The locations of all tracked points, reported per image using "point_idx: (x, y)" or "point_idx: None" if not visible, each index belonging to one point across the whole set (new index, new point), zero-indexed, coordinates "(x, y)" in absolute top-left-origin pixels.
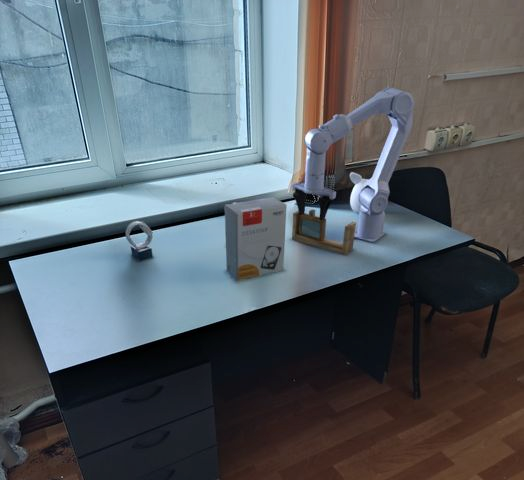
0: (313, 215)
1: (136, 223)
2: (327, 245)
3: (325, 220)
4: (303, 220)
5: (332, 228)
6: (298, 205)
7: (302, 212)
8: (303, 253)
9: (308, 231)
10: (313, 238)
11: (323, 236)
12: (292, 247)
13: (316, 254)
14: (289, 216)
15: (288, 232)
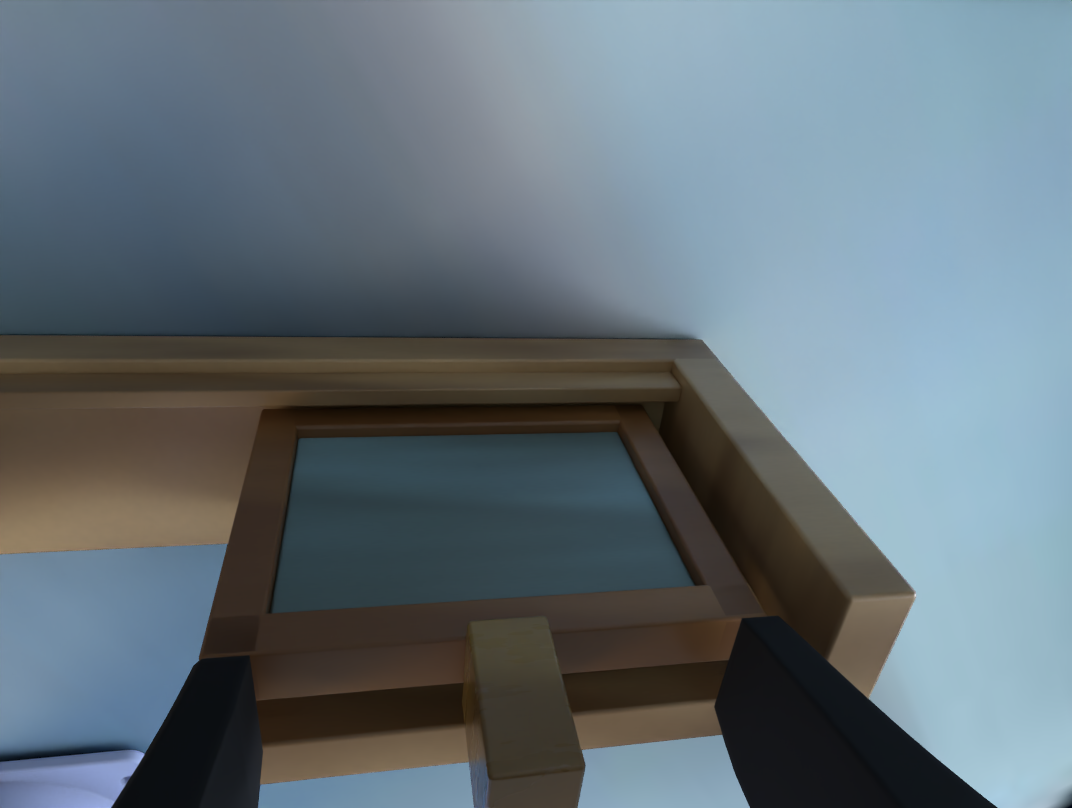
0: (470, 717)
1: None
2: (112, 375)
3: None
4: (656, 574)
5: (442, 768)
6: (930, 786)
7: (746, 693)
8: (327, 2)
9: (509, 471)
10: (397, 417)
11: None
12: (590, 116)
13: (129, 94)
14: (903, 725)
15: None
